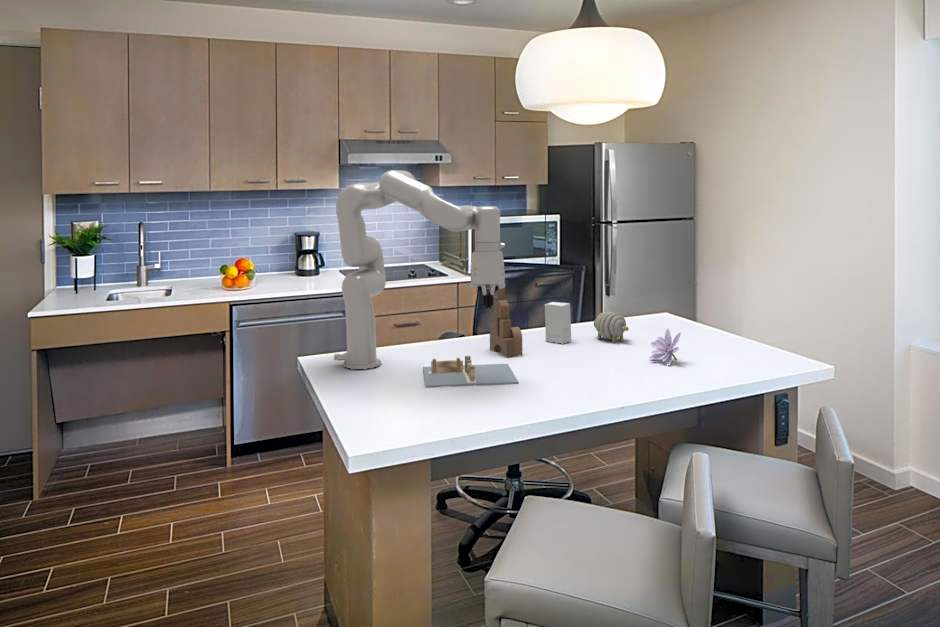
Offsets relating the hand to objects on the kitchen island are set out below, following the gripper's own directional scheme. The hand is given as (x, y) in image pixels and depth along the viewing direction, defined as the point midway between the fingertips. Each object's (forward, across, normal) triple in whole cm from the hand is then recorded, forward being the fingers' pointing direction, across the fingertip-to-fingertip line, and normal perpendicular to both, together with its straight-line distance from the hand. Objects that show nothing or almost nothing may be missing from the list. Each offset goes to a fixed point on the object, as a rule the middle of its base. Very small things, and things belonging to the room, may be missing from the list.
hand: (488, 307), depth 220 cm
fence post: (+22, +6, -5) cm, 23 cm away
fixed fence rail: (+21, +13, -5) cm, 25 cm away
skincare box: (+22, -32, -45) cm, 60 cm away
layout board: (+22, +6, -2) cm, 23 cm away
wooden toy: (+22, -10, -32) cm, 40 cm away
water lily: (+22, -60, -10) cm, 65 cm away
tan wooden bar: (+21, +6, +2) cm, 22 cm away
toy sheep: (+22, -52, -44) cm, 72 cm away
